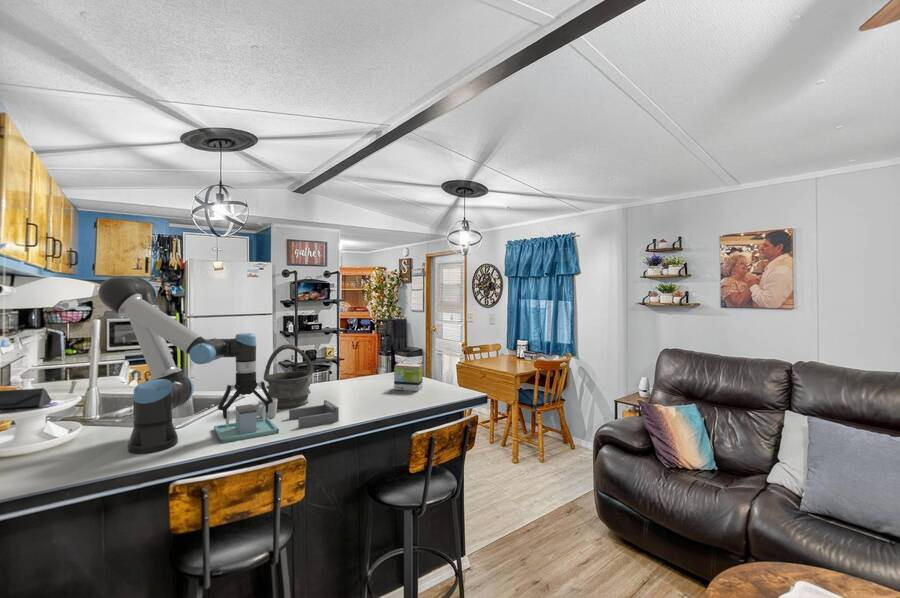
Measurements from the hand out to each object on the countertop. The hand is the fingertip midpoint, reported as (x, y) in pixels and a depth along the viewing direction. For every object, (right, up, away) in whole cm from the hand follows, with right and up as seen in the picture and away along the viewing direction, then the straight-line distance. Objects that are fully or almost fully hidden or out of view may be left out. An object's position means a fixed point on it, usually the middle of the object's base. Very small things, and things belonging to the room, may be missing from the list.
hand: (246, 423), depth 173 cm
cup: (0, -3, +18) cm, 18 cm away
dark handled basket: (+1, -3, +43) cm, 43 cm away
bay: (+23, -3, +16) cm, 28 cm away
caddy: (0, -3, 0) cm, 3 cm away
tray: (0, -3, 0) cm, 3 cm away
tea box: (+59, -2, +77) cm, 97 cm away
